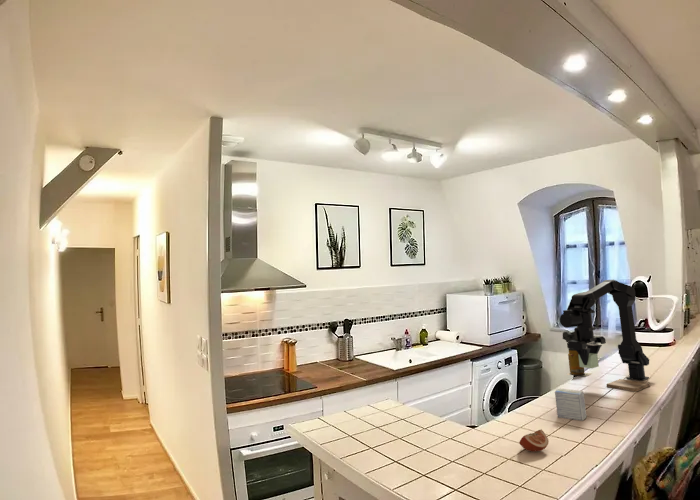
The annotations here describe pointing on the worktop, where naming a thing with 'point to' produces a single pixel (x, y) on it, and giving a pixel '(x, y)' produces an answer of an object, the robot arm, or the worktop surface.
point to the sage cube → (590, 361)
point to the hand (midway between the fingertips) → (588, 363)
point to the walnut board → (628, 385)
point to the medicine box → (570, 404)
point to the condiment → (575, 364)
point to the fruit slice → (534, 441)
